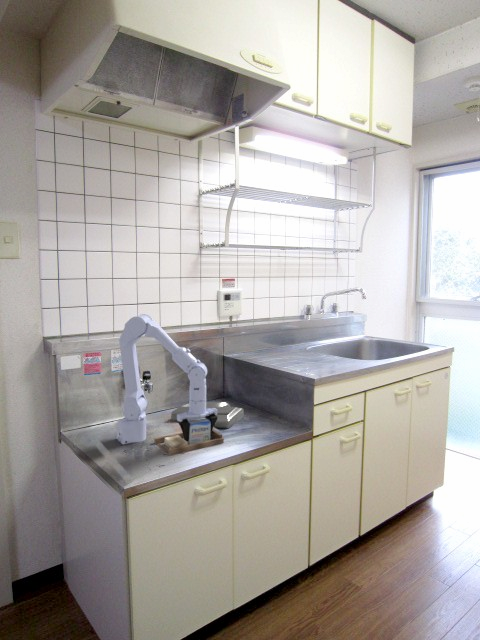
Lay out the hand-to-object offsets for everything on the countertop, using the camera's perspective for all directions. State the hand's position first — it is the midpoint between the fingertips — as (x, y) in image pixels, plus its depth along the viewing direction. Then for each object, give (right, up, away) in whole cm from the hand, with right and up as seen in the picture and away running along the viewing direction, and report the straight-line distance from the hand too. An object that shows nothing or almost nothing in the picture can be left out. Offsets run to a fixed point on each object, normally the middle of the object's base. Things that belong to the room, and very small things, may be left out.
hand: (197, 438), depth 148 cm
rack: (-3, -3, -1) cm, 4 cm away
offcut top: (-7, -1, -4) cm, 8 cm away
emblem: (+2, 0, +28) cm, 28 cm away
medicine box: (0, -3, 0) cm, 3 cm away
